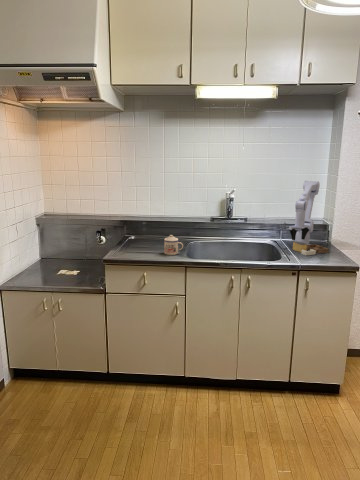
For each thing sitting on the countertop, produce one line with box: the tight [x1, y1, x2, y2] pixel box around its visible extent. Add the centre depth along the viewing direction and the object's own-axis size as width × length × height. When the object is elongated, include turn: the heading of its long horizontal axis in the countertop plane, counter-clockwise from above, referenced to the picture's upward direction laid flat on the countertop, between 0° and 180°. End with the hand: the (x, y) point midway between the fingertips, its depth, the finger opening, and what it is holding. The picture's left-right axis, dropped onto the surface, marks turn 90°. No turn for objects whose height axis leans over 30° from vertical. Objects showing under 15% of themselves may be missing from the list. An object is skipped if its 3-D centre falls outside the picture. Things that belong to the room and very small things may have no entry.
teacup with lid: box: [163, 234, 184, 256], centre depth 227 cm, size 12×9×12 cm
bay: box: [300, 249, 317, 256], centre depth 231 cm, size 4×8×2 cm, turn 111°
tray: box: [306, 243, 330, 254], centre depth 239 cm, size 13×9×2 cm
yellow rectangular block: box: [292, 241, 307, 253], centre depth 238 cm, size 9×4×5 cm, turn 21°
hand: (298, 239), depth 239 cm, fingers open, 7 cm apart
